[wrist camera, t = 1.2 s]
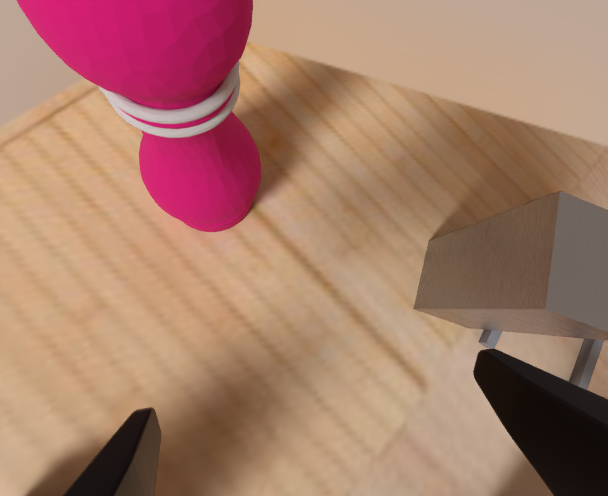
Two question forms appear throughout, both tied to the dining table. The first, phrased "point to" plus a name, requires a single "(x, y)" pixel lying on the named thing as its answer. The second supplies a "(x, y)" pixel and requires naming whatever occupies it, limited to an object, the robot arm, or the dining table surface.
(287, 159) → the dining table surface
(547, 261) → the grey rectangular block
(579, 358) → the oak hinge leaf
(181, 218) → the pepper mill
